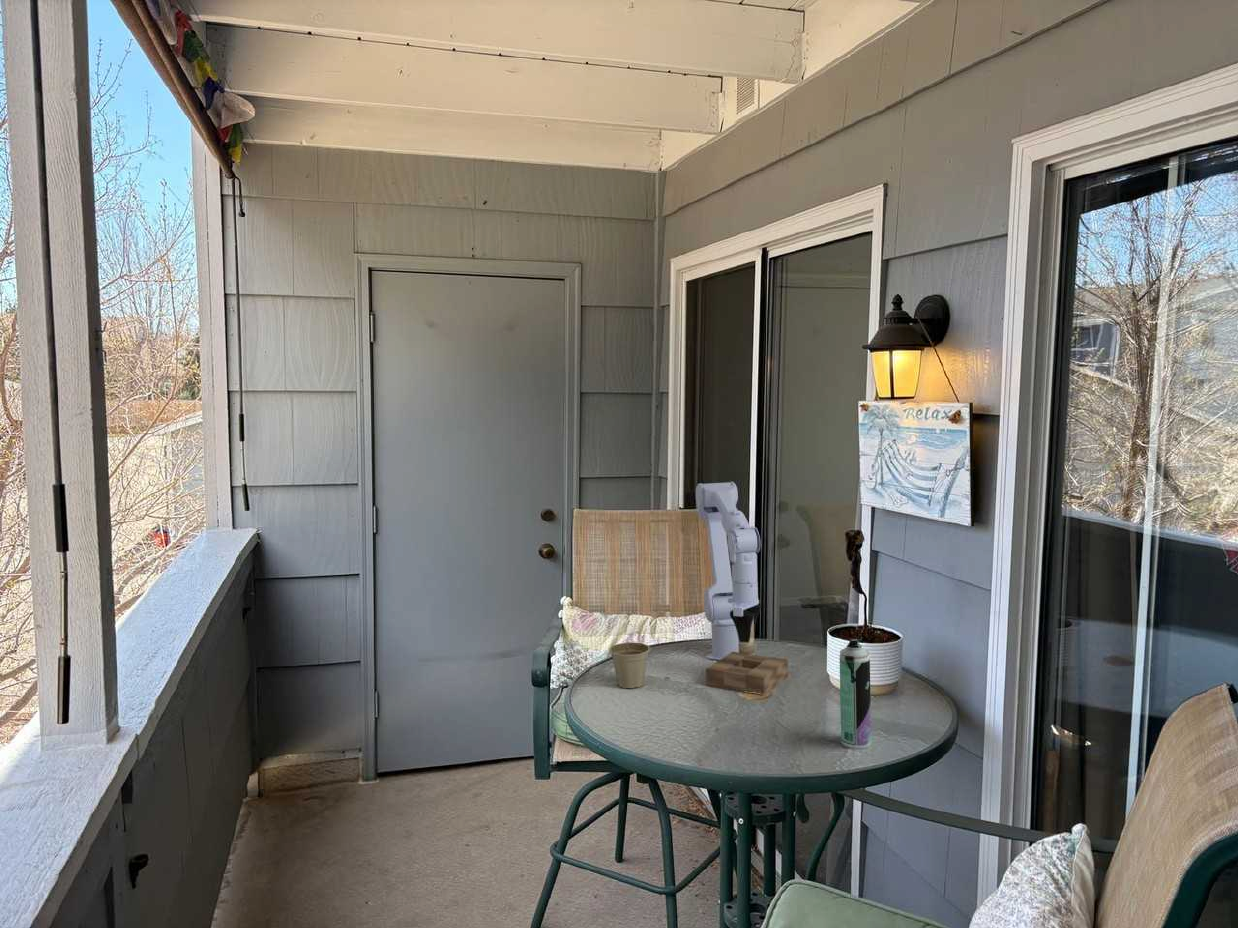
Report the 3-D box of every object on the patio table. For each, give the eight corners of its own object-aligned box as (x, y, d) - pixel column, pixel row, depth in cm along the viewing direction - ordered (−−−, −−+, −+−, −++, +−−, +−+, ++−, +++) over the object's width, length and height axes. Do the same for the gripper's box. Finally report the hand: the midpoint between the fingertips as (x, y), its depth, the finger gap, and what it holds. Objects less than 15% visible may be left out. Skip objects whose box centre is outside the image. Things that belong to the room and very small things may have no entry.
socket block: (733, 667, 204) (732, 651, 204) (787, 676, 197) (787, 659, 196) (706, 685, 193) (706, 668, 192) (764, 695, 185) (763, 677, 185)
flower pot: (651, 691, 191) (650, 653, 190) (610, 692, 191) (608, 655, 190) (651, 677, 200) (649, 641, 199) (611, 678, 200) (609, 642, 200)
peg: (740, 648, 196) (739, 615, 196) (755, 649, 195) (754, 615, 195) (737, 653, 193) (736, 619, 192) (753, 654, 192) (752, 619, 191)
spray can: (872, 749, 156) (870, 644, 154) (841, 748, 157) (840, 643, 155) (869, 737, 161) (868, 635, 159) (840, 736, 162) (838, 634, 161)
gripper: (735, 573, 201) (737, 629, 202) (719, 587, 188) (721, 647, 189) (765, 574, 198) (766, 631, 199) (750, 588, 185) (752, 649, 186)
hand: (746, 639), depth 194 cm, fingers closed on peg, 4 cm apart
